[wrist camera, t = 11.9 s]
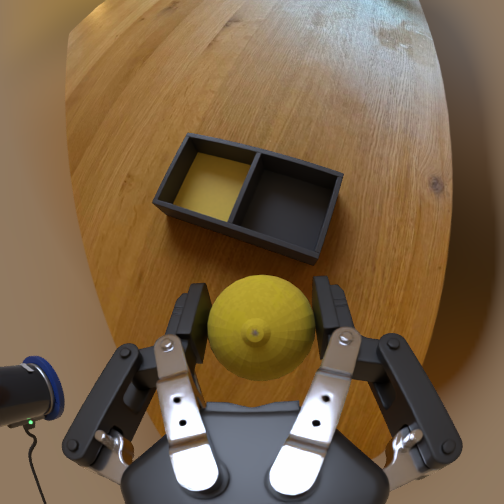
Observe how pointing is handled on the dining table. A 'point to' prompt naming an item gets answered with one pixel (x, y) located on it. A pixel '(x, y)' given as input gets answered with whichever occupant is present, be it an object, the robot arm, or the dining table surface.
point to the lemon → (261, 327)
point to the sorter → (251, 195)
